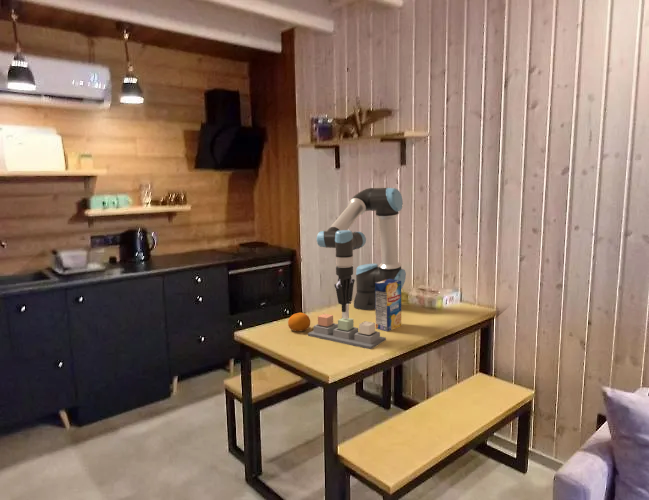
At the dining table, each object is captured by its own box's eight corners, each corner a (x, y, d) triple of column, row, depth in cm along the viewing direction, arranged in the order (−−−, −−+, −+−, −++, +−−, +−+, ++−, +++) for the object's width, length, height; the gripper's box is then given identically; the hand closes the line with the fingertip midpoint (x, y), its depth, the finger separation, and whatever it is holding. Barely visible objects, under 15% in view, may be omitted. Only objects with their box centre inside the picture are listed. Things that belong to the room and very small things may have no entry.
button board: (324, 327, 233) (324, 319, 232) (385, 340, 213) (385, 331, 213) (307, 335, 222) (307, 326, 221) (370, 349, 203) (370, 339, 202)
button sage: (344, 325, 220) (344, 317, 220) (353, 327, 218) (353, 318, 217) (338, 328, 216) (337, 320, 216) (347, 330, 214) (347, 321, 213)
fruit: (286, 327, 235) (286, 311, 233) (308, 325, 237) (307, 309, 235) (289, 334, 225) (289, 317, 223) (312, 332, 227) (311, 315, 225)
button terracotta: (324, 322, 227) (324, 313, 226) (333, 323, 224) (333, 315, 223) (318, 324, 223) (317, 316, 222) (327, 326, 220) (326, 318, 219)
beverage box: (375, 328, 230) (375, 282, 226) (389, 323, 237) (389, 278, 234) (387, 331, 225) (386, 285, 221) (401, 325, 232) (401, 280, 229)
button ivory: (365, 329, 214) (365, 321, 213) (375, 331, 211) (375, 322, 211) (359, 333, 210) (359, 324, 209) (369, 335, 207) (369, 326, 207)
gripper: (345, 262, 220) (346, 313, 224) (328, 267, 210) (330, 320, 213) (359, 264, 216) (360, 315, 219) (343, 269, 205) (344, 323, 209)
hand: (345, 318), depth 216 cm, fingers closed
